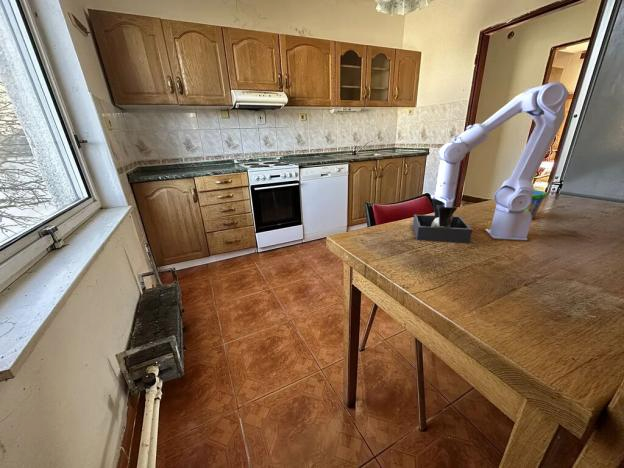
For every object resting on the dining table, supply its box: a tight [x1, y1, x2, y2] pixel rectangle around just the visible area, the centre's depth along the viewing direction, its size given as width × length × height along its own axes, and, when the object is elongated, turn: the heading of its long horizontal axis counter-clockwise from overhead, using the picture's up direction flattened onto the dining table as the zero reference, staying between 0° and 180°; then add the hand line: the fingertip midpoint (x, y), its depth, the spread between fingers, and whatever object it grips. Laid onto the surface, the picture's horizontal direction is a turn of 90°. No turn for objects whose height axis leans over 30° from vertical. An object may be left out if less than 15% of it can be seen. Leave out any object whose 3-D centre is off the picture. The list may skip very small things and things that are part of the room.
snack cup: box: [526, 189, 547, 219], centre depth 101 cm, size 16×10×10 cm
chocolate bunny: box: [431, 204, 454, 228], centre depth 87 cm, size 6×8×10 cm
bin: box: [412, 214, 473, 244], centre depth 88 cm, size 16×14×5 cm
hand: (440, 222), depth 87 cm, fingers closed on chocolate bunny, 7 cm apart
